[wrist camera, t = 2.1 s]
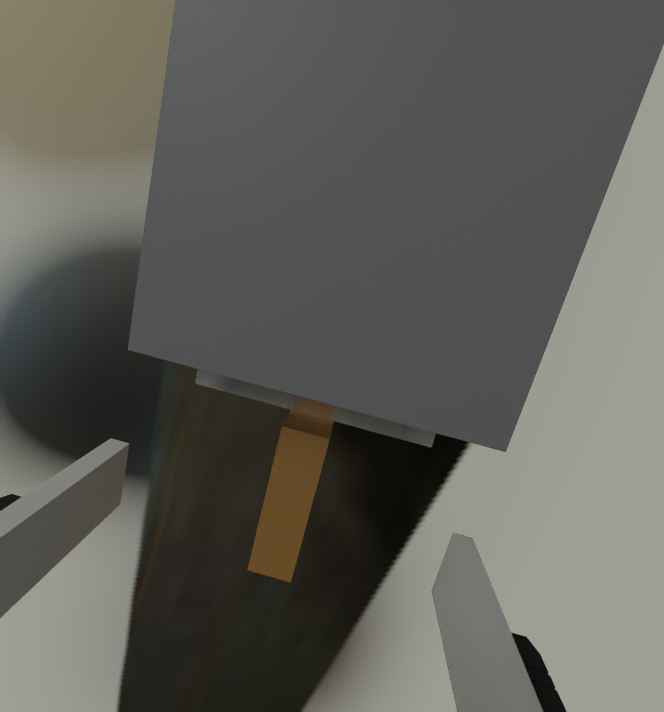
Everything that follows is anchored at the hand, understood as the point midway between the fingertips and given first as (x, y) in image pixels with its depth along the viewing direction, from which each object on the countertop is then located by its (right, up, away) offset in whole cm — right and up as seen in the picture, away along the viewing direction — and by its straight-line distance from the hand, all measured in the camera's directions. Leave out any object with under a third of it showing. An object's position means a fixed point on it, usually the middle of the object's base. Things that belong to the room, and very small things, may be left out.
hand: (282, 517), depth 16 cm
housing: (+4, +14, +11) cm, 18 cm away
